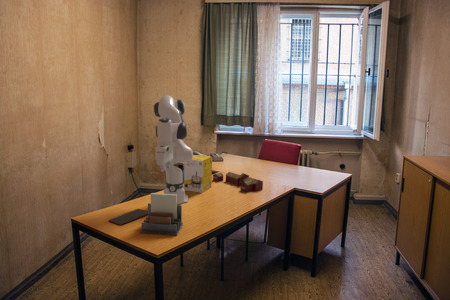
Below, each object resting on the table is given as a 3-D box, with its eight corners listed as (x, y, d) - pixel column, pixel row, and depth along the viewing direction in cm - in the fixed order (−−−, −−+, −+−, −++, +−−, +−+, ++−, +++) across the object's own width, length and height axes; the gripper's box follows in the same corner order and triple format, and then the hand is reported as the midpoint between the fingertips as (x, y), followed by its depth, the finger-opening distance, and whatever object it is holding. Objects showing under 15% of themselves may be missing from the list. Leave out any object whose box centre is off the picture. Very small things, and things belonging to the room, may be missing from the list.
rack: (148, 222, 219) (147, 202, 216) (182, 225, 217) (182, 204, 214) (140, 233, 204) (139, 211, 202) (177, 235, 202) (177, 214, 200)
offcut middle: (151, 224, 212) (151, 211, 210) (173, 226, 211) (173, 213, 209) (150, 226, 210) (150, 213, 208) (172, 227, 209) (172, 214, 207)
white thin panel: (151, 222, 216) (151, 193, 212) (176, 223, 214) (176, 194, 211) (151, 223, 214) (150, 193, 211) (176, 224, 213) (176, 195, 209)
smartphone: (106, 220, 219) (138, 208, 240) (106, 222, 220) (138, 210, 240) (120, 225, 212) (151, 212, 233) (120, 227, 213) (151, 214, 233)
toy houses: (264, 189, 294) (265, 176, 292) (247, 193, 280) (247, 181, 278) (227, 177, 326) (227, 166, 324) (209, 180, 313) (209, 169, 311)
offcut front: (150, 227, 208) (150, 216, 207) (171, 229, 207) (171, 217, 206) (149, 229, 206) (149, 217, 205) (170, 230, 205) (170, 218, 204)
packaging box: (183, 190, 285) (183, 158, 280) (193, 184, 299) (193, 154, 294) (202, 192, 279) (203, 160, 274) (211, 187, 293) (212, 156, 288)
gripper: (165, 143, 223) (165, 166, 225) (154, 149, 203) (154, 173, 205) (175, 144, 222) (175, 166, 224) (165, 149, 202) (165, 174, 204)
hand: (165, 169), depth 214 cm, fingers open, 8 cm apart
